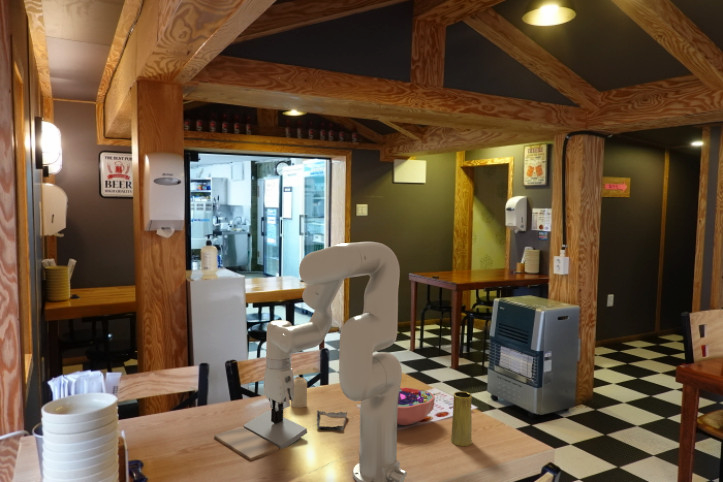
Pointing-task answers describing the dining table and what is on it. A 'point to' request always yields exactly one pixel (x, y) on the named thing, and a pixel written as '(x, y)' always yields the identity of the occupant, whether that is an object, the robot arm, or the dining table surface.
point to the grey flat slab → (275, 430)
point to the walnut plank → (246, 443)
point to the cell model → (413, 405)
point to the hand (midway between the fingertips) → (277, 421)
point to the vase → (462, 419)
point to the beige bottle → (299, 393)
